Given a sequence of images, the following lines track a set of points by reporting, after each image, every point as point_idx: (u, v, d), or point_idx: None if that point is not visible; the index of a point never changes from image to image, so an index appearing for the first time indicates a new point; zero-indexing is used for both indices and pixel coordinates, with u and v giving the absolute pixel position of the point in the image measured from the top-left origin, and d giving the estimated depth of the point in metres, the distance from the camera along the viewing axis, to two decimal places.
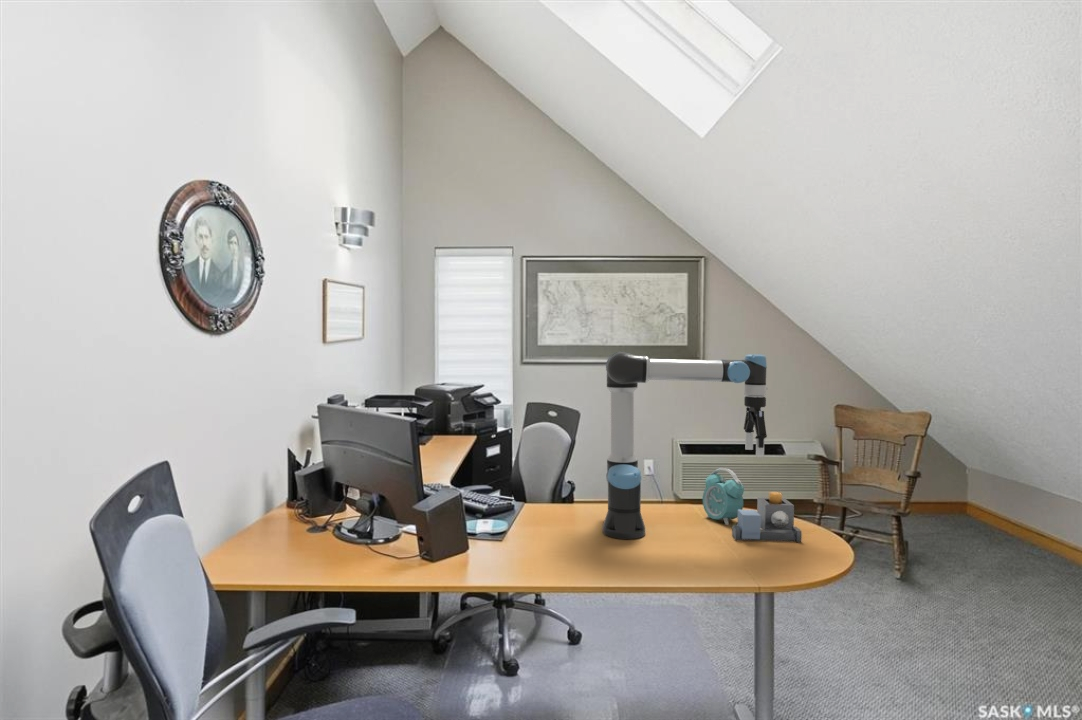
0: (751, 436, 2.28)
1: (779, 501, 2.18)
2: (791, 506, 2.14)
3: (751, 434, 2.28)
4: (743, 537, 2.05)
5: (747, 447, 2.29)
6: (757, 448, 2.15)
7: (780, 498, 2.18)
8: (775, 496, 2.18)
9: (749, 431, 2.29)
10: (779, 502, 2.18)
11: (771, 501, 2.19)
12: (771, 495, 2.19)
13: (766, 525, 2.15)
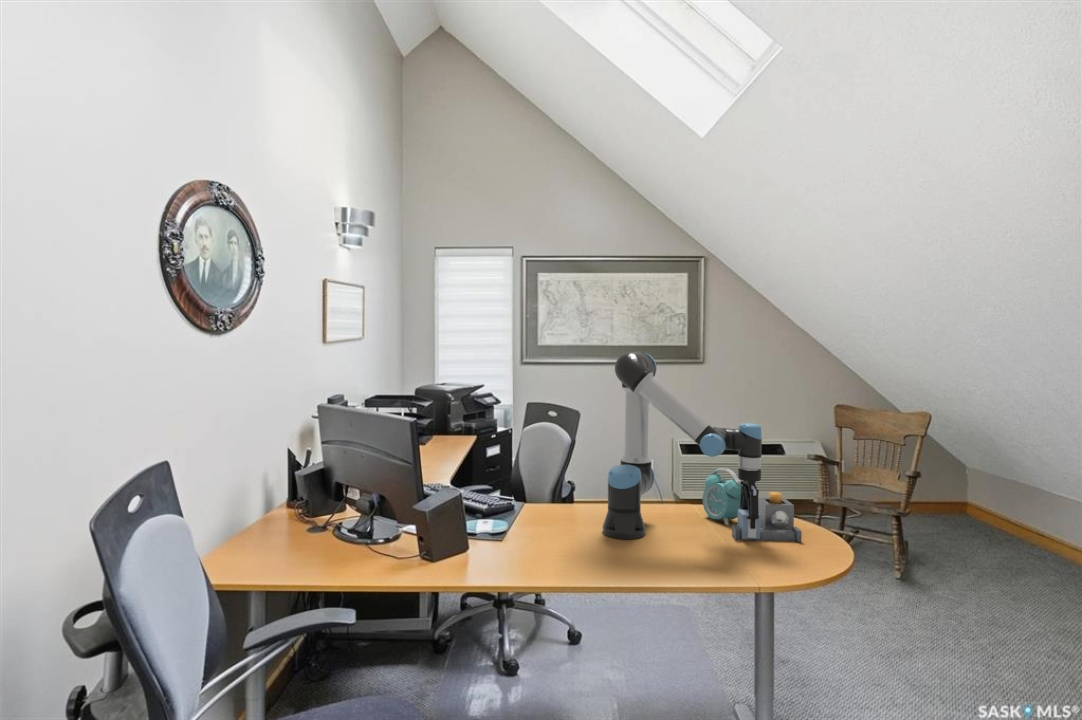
0: None
1: (779, 501, 2.18)
2: (791, 506, 2.14)
3: None
4: (743, 537, 2.05)
5: None
6: (749, 529, 2.04)
7: (780, 498, 2.18)
8: (775, 496, 2.18)
9: None
10: (779, 502, 2.18)
11: (771, 501, 2.19)
12: (771, 495, 2.19)
13: (766, 525, 2.15)
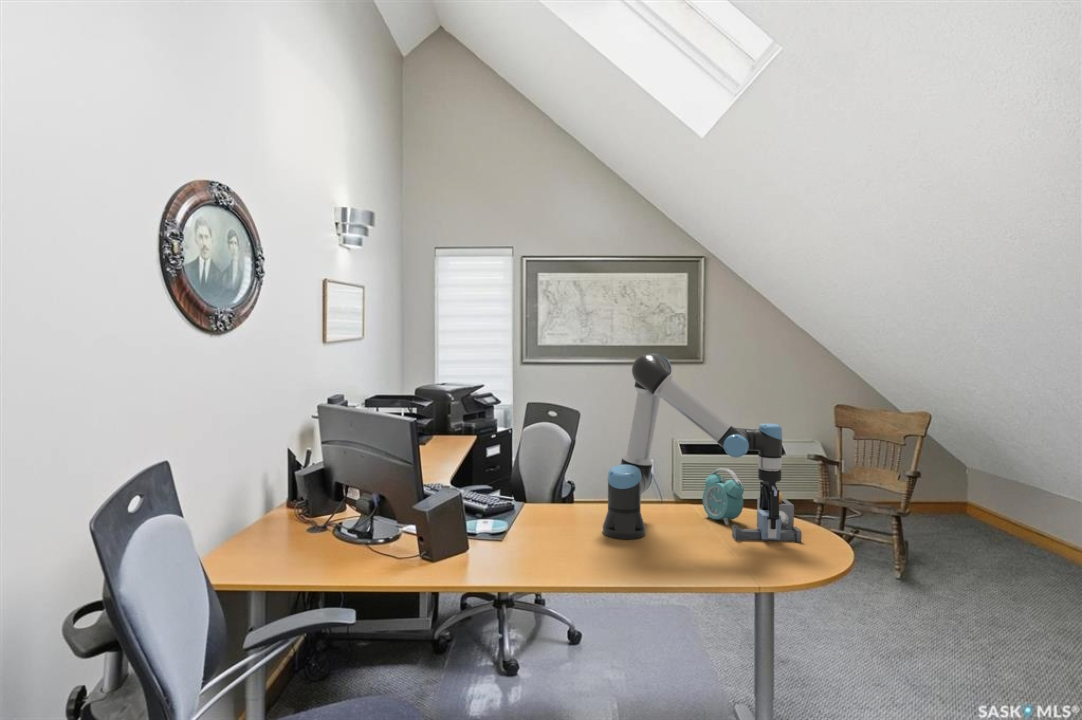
0: None
1: (779, 501, 2.18)
2: (791, 506, 2.14)
3: None
4: (763, 538, 2.05)
5: None
6: (769, 530, 2.03)
7: (780, 498, 2.18)
8: None
9: None
10: (779, 502, 2.18)
11: None
12: None
13: None
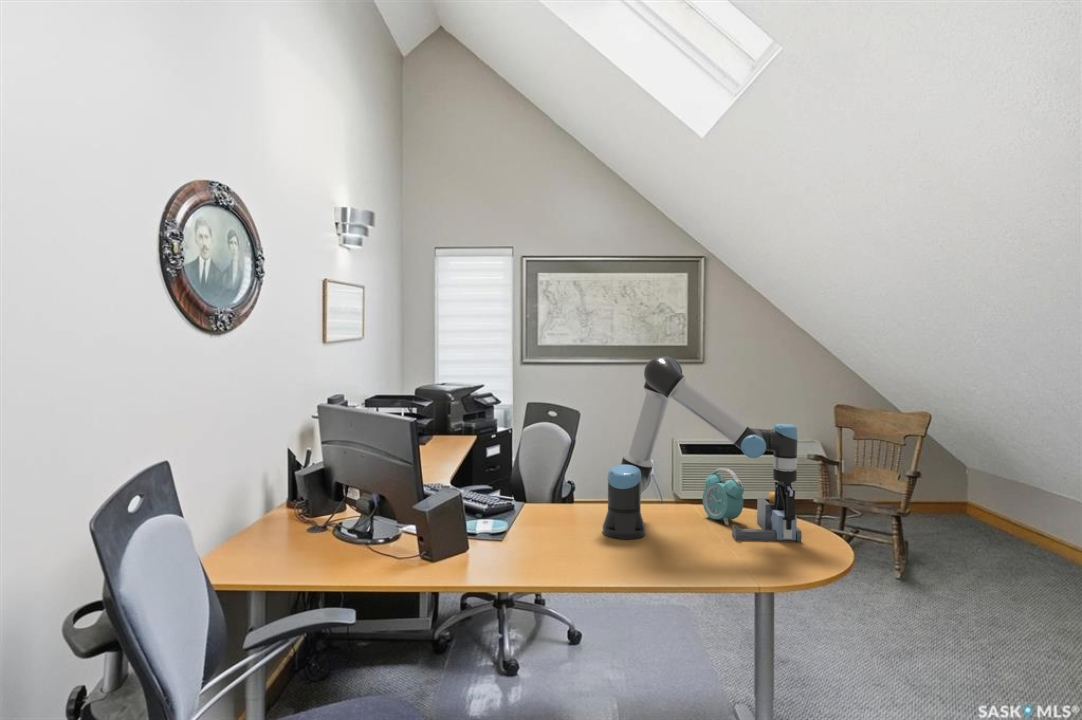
0: None
1: None
2: None
3: None
4: (779, 538, 2.04)
5: None
6: (785, 530, 2.03)
7: None
8: None
9: None
10: None
11: (771, 501, 2.19)
12: (771, 495, 2.19)
13: (766, 525, 2.15)
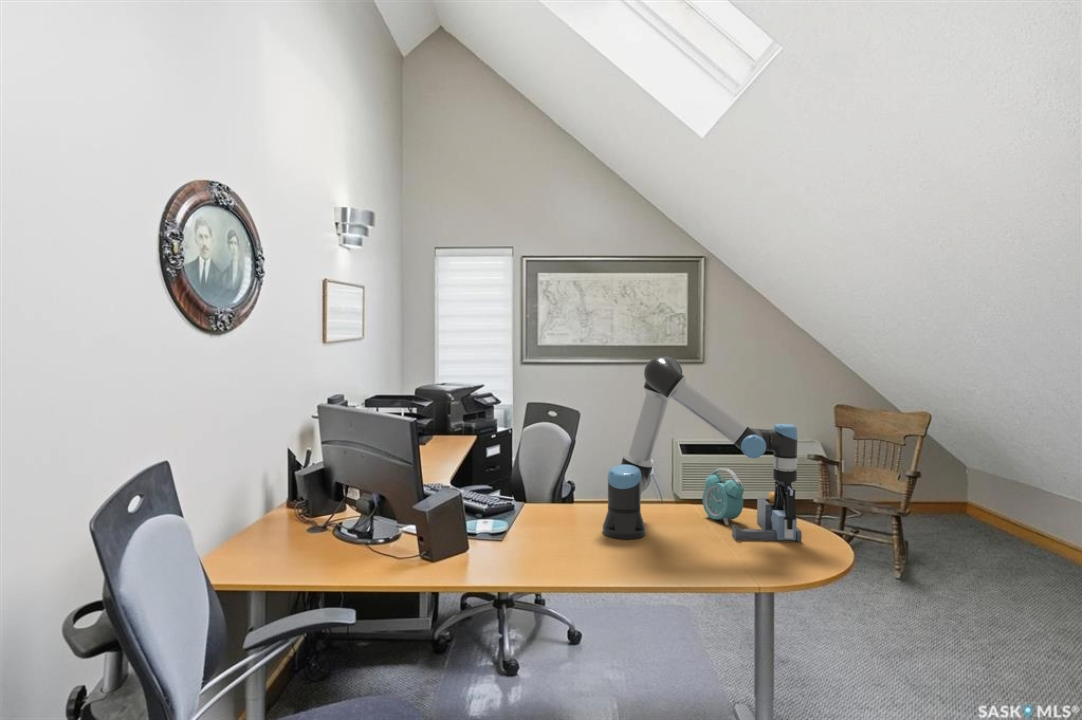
0: None
1: None
2: None
3: None
4: (779, 538, 2.04)
5: None
6: (786, 530, 2.02)
7: None
8: None
9: (779, 509, 2.12)
10: None
11: (771, 501, 2.19)
12: (771, 495, 2.19)
13: (766, 525, 2.15)
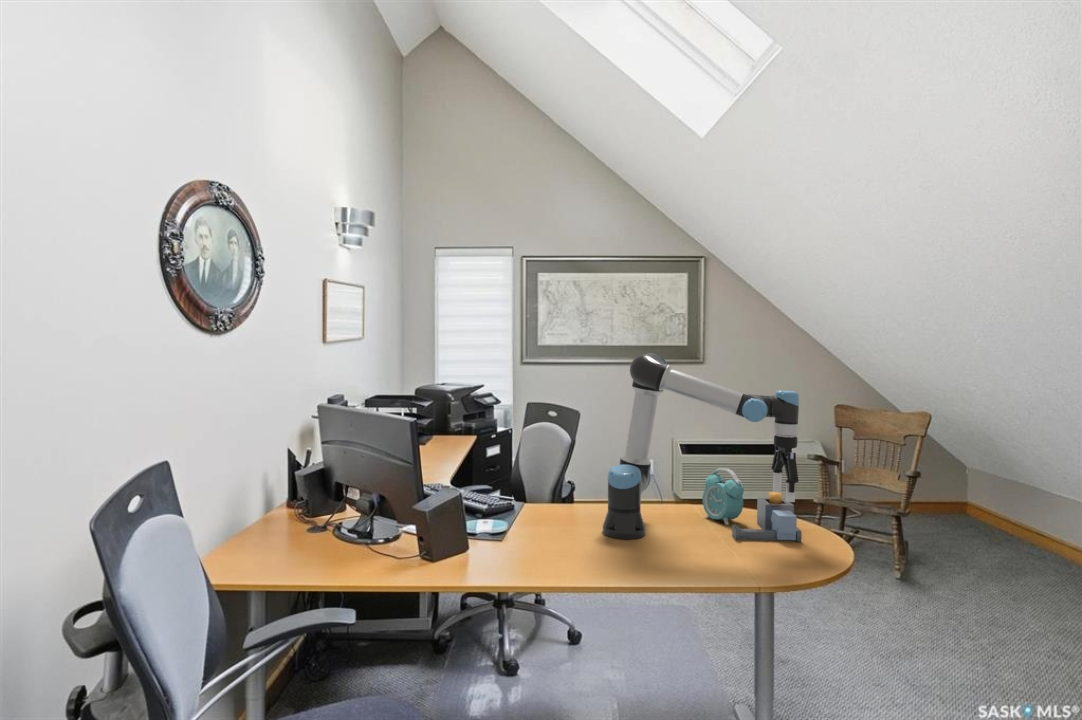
0: (780, 477, 2.13)
1: (779, 501, 2.18)
2: (791, 506, 2.14)
3: (780, 475, 2.13)
4: (779, 538, 2.04)
5: (775, 489, 2.13)
6: (787, 493, 2.00)
7: (780, 498, 2.18)
8: (775, 496, 2.18)
9: (777, 471, 2.14)
10: (779, 502, 2.18)
11: (771, 501, 2.19)
12: (771, 495, 2.19)
13: (766, 525, 2.15)
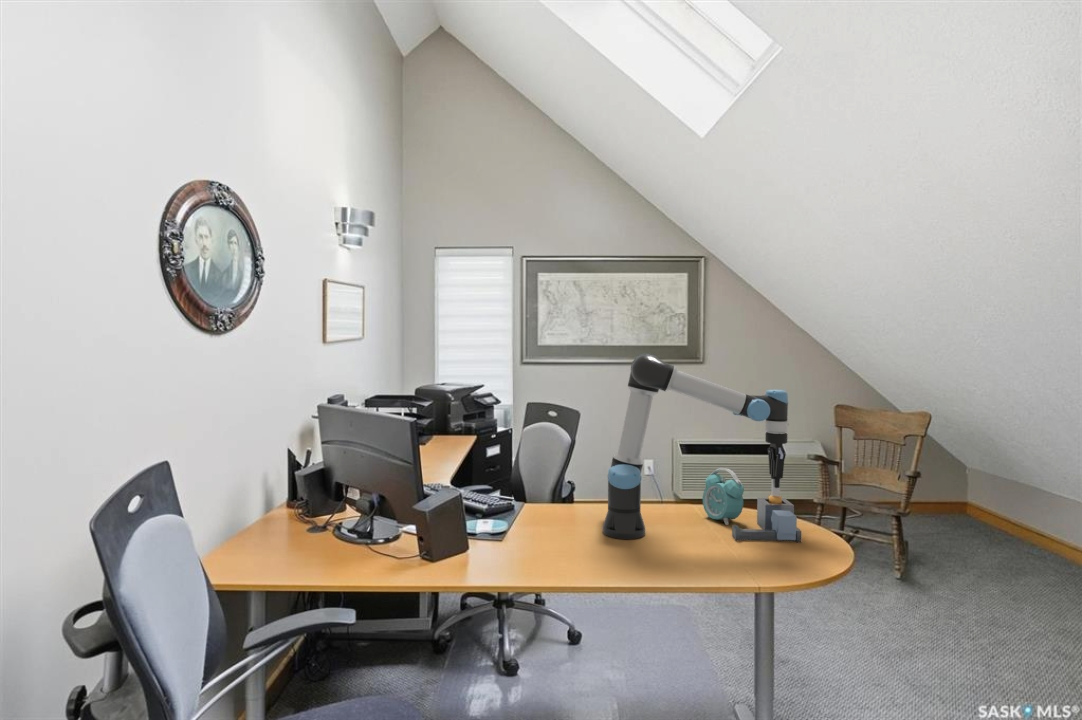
0: None
1: None
2: (791, 506, 2.14)
3: None
4: (779, 538, 2.04)
5: None
6: (773, 488, 2.19)
7: (780, 501, 2.18)
8: (775, 499, 2.18)
9: None
10: None
11: None
12: (771, 498, 2.19)
13: (766, 525, 2.15)
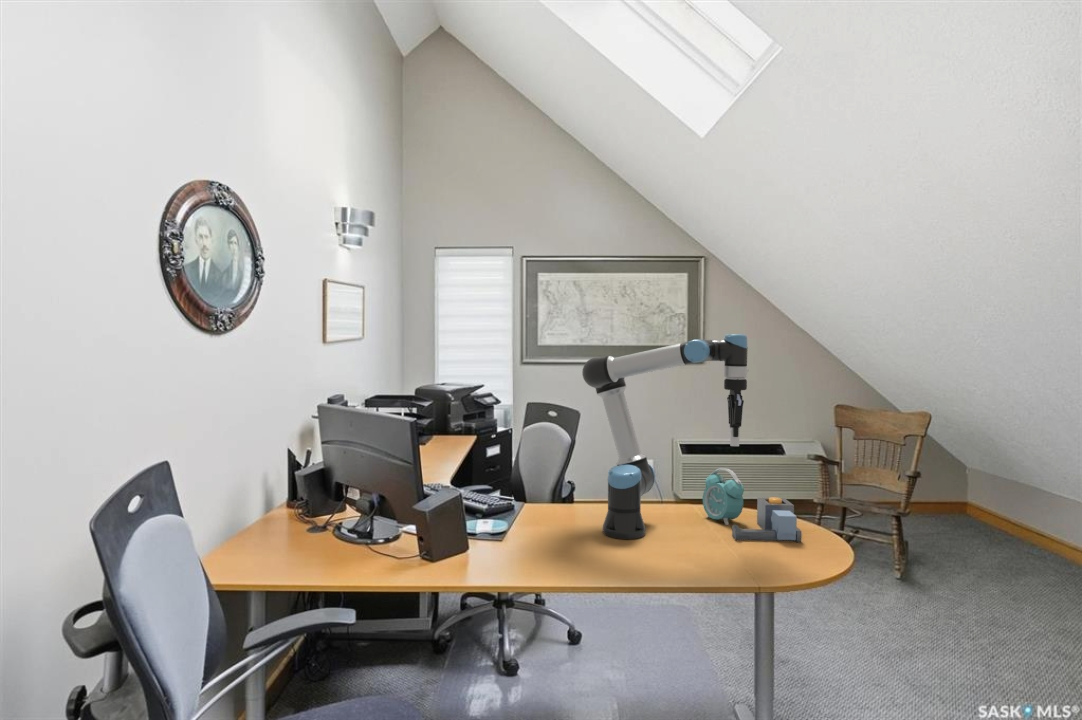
0: None
1: None
2: (791, 506, 2.14)
3: None
4: (779, 538, 2.04)
5: None
6: (732, 438, 2.08)
7: (780, 503, 2.18)
8: (775, 502, 2.18)
9: None
10: None
11: None
12: (771, 500, 2.19)
13: (766, 525, 2.15)
